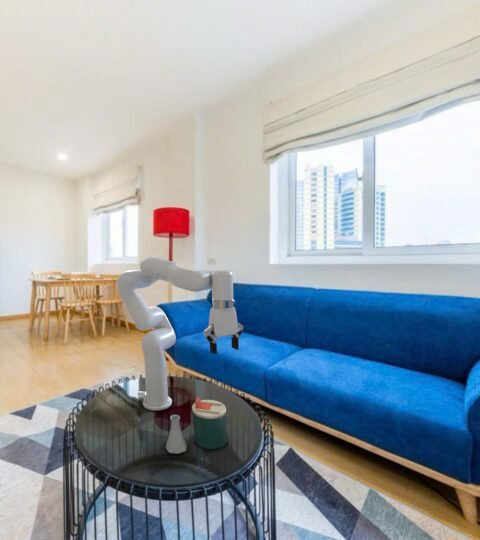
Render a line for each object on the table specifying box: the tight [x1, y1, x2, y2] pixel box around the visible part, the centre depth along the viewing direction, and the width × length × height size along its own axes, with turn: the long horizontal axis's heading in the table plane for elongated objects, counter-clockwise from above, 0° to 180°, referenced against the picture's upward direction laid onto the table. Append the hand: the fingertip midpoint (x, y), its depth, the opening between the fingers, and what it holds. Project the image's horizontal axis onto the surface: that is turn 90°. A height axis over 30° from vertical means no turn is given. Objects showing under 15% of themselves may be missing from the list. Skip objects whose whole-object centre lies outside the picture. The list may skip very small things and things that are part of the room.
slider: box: [194, 396, 212, 410], centre depth 98 cm, size 5×4×2 cm
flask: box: [165, 414, 188, 455], centre depth 94 cm, size 7×7×10 cm
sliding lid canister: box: [191, 399, 228, 450], centre depth 98 cm, size 11×11×11 cm
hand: (224, 350), depth 105 cm, fingers open, 9 cm apart
